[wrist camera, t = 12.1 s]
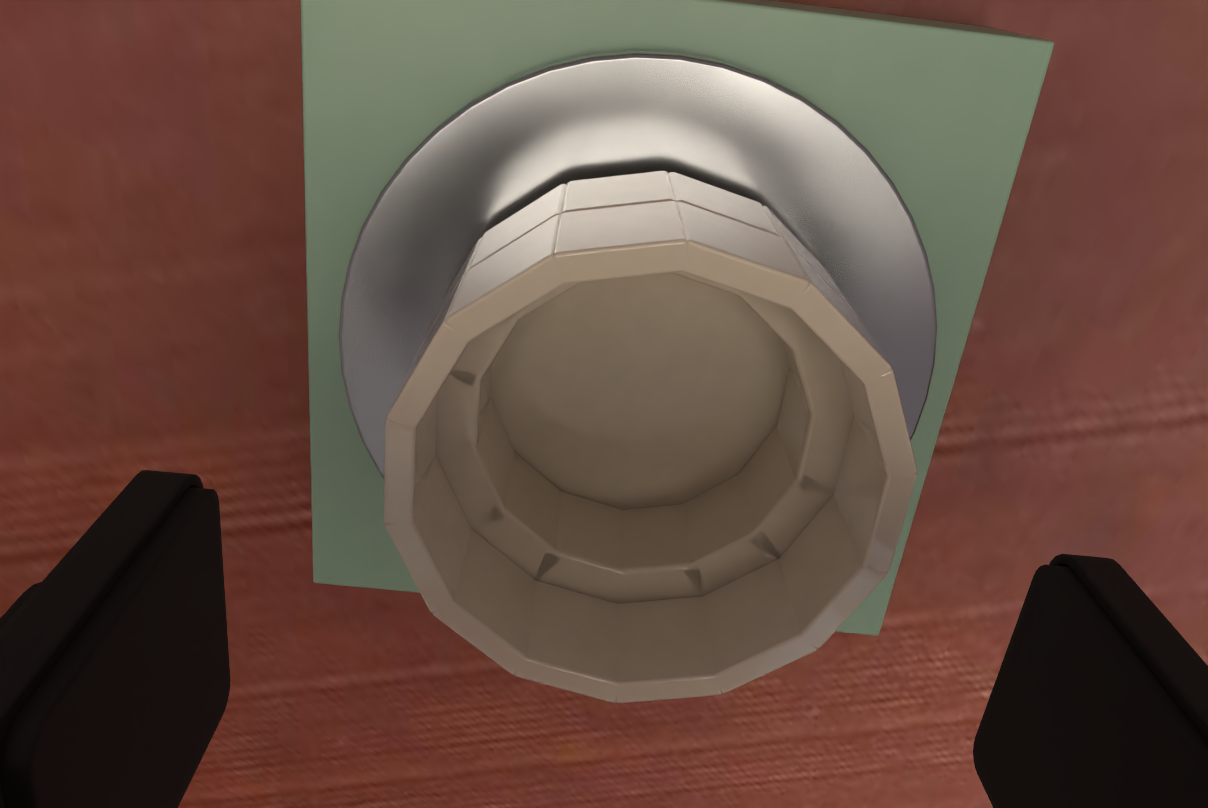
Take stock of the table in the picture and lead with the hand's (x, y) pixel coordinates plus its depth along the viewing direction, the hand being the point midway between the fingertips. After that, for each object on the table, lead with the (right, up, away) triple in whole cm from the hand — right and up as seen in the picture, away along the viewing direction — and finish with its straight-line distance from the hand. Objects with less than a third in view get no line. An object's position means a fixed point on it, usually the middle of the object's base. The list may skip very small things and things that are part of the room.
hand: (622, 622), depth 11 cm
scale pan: (0, +3, +6) cm, 7 cm away
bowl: (0, +3, +6) cm, 7 cm away
